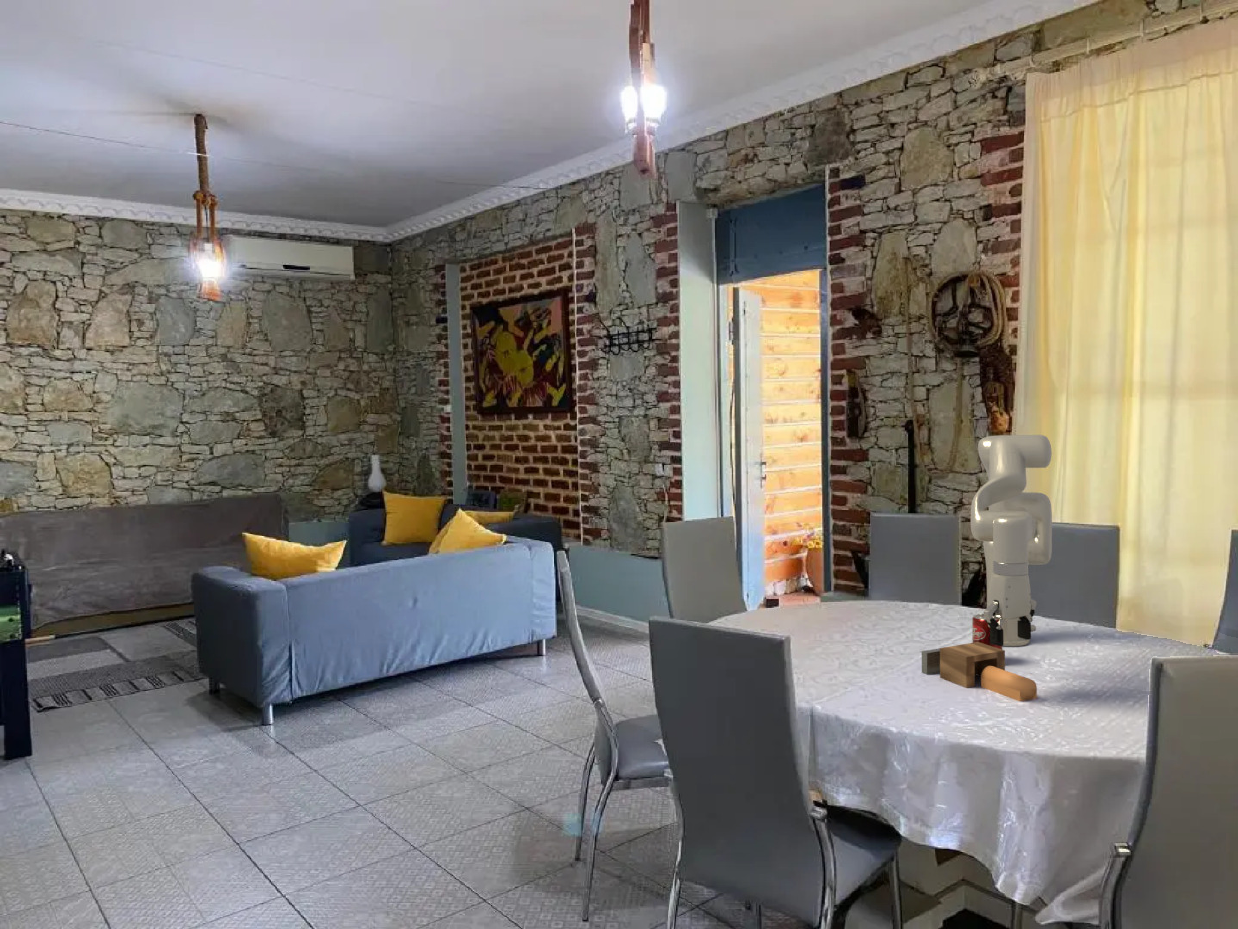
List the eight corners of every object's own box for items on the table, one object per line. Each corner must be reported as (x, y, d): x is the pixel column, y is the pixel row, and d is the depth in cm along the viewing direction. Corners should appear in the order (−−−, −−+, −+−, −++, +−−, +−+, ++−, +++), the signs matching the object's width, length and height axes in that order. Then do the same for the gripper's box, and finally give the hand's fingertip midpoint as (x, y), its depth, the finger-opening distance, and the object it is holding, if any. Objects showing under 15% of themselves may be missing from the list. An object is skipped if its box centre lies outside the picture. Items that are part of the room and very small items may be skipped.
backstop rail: (965, 665, 237) (964, 644, 236) (970, 667, 235) (970, 646, 234) (921, 672, 231) (921, 651, 231) (927, 674, 229) (927, 653, 229)
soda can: (1001, 659, 241) (1001, 614, 240) (1003, 666, 234) (1003, 620, 233) (972, 657, 243) (971, 612, 242) (973, 665, 236) (972, 619, 236)
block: (977, 671, 231) (977, 642, 231) (1004, 680, 223) (1004, 650, 222) (940, 677, 227) (939, 648, 226) (966, 687, 218) (966, 657, 218)
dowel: (981, 687, 219) (981, 667, 218) (997, 684, 221) (997, 664, 220) (1020, 702, 208) (1020, 681, 207) (1036, 699, 209) (1036, 677, 209)
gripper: (1020, 562, 219) (1020, 632, 220) (971, 571, 210) (972, 644, 211) (1048, 567, 212) (1048, 639, 213) (999, 576, 204) (999, 651, 205)
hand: (1010, 641), depth 212 cm, fingers open, 9 cm apart
